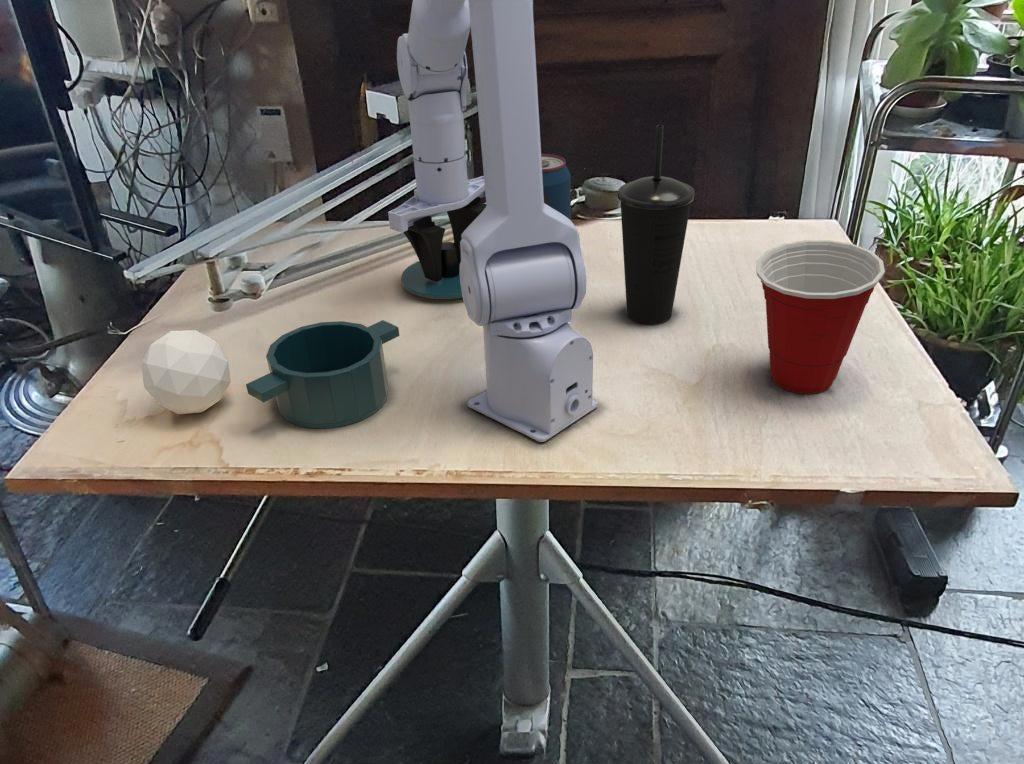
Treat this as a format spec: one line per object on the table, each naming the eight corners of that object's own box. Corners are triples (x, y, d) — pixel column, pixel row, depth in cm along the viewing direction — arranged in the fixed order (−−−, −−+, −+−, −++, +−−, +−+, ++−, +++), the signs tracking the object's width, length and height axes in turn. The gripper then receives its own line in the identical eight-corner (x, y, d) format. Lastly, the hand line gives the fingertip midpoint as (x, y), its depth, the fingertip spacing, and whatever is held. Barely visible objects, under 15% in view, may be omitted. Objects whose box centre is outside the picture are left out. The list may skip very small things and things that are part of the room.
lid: (518, 279, 105) (516, 242, 103) (448, 313, 99) (445, 275, 96) (451, 255, 112) (449, 219, 109) (382, 285, 105) (377, 249, 103)
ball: (181, 437, 86) (110, 384, 82) (224, 374, 89) (158, 321, 85) (216, 426, 80) (141, 369, 76) (261, 360, 84) (192, 302, 80)
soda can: (556, 243, 114) (555, 148, 107) (580, 263, 109) (581, 164, 102) (506, 253, 112) (501, 157, 105) (528, 274, 106) (525, 174, 99)
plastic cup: (719, 364, 88) (732, 249, 81) (813, 342, 90) (833, 230, 84) (783, 420, 79) (803, 297, 72) (884, 395, 82) (913, 274, 75)
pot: (430, 382, 87) (425, 332, 84) (297, 455, 78) (286, 402, 75) (363, 349, 93) (356, 301, 90) (232, 413, 84) (219, 362, 80)
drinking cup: (665, 294, 101) (677, 111, 89) (697, 323, 95) (715, 131, 83) (602, 305, 99) (607, 120, 87) (631, 336, 93) (640, 142, 81)
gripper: (461, 132, 103) (469, 243, 111) (364, 165, 95) (380, 282, 103) (505, 143, 99) (510, 258, 107) (408, 178, 91) (421, 300, 99)
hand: (449, 271), depth 105 cm, fingers open, 5 cm apart
